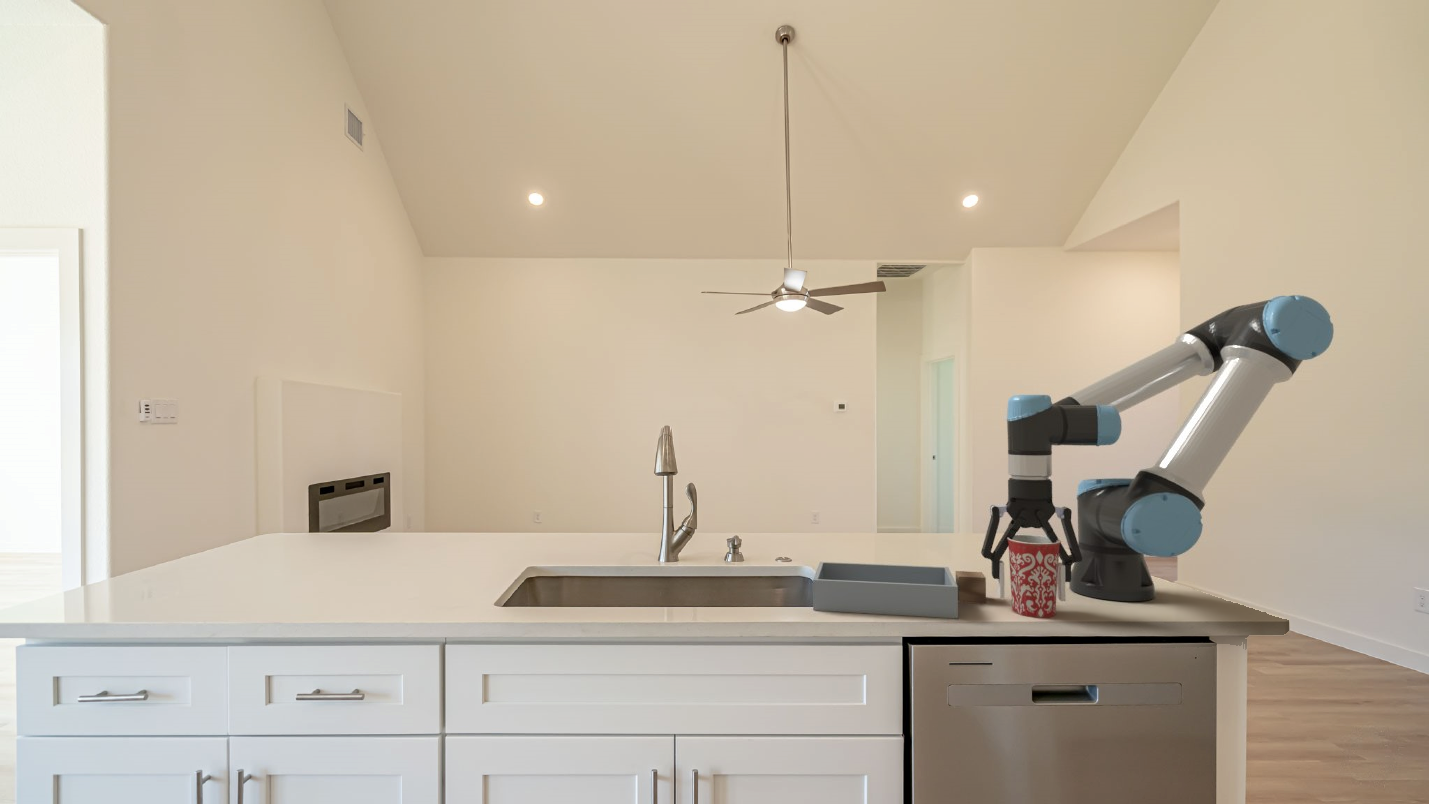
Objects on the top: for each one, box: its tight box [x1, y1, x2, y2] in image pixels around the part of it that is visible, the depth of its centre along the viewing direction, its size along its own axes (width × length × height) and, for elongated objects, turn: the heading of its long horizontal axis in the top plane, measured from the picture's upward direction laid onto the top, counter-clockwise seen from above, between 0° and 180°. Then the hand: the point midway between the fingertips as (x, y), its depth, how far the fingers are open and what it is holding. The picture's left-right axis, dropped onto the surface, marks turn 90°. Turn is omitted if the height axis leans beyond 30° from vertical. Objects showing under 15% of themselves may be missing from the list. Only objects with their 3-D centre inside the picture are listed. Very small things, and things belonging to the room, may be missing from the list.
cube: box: [955, 570, 987, 604], centre depth 139 cm, size 5×5×5 cm
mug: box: [1007, 534, 1062, 619], centre depth 132 cm, size 13×9×14 cm
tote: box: [812, 561, 959, 619], centre depth 137 cm, size 26×17×6 cm, turn 77°
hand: (1031, 597), depth 132 cm, fingers open, 10 cm apart
